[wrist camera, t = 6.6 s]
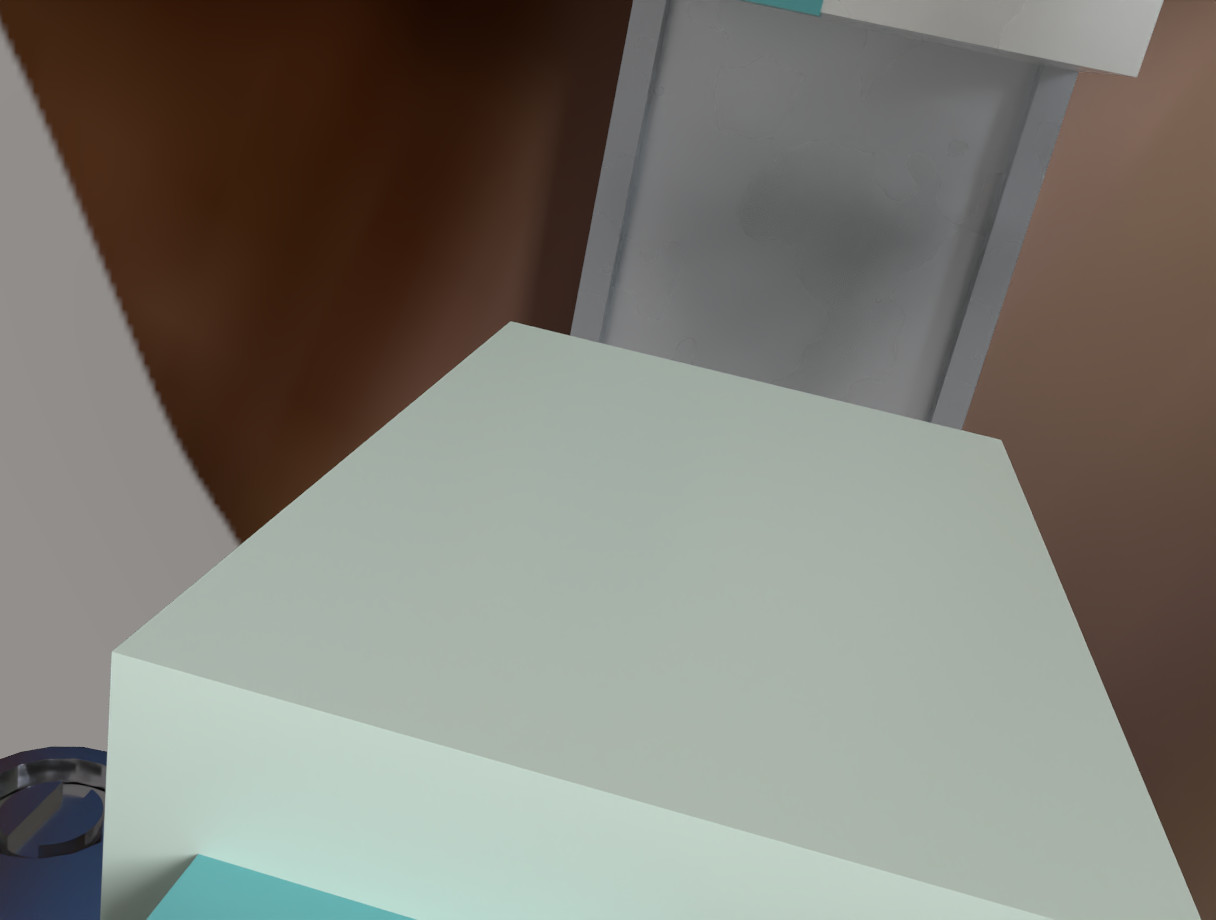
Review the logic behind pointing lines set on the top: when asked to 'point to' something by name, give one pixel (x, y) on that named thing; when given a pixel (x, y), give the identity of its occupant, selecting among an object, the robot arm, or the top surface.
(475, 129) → the top surface
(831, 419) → the block
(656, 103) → the rail
